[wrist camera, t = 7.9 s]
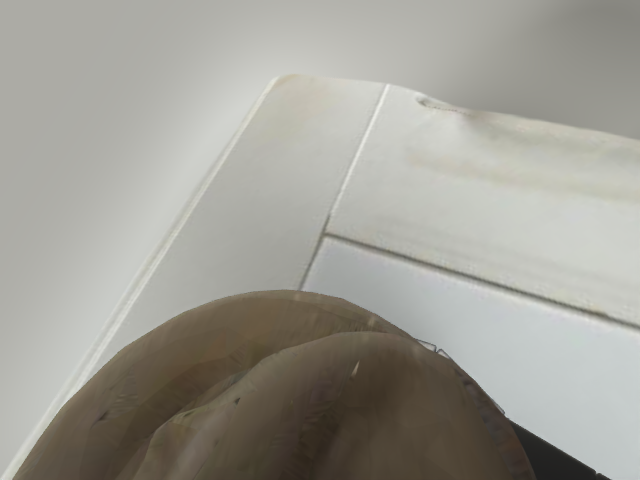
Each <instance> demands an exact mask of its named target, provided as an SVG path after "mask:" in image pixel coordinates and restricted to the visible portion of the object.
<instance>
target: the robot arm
mask: <svg viewBox="0 0 640 480" xmlns="http://www.w3.org/2000/svg"><path fill="white" fill-rule="evenodd" d="M508 421H509V422H510V424H511V426H512V428H513V430H514V432H515V434H516V435H517V437H518V439H519V441H520V443H521V445H522V447H523V449H524V451H525V453H526V455H527V457H528V459H529V462H530V464H531V466H532V469H533V471H534V474H535V476H536V479H537V480H611V479H609V478H607V477H606V476H604V475H602V474H601V473H597V474H596V471H595V470H594V469H592V468H590V467H588V466H587V465H585V464H583V463H582V462H580V461H578V460H577V459H575V458H573V457H572V456H570V455H568V454H567V453H565V452H563V451H561V450H560V449H558V448H556V447H555V446H553V445H551V444H550V443H548V442H546V441H545V440H543V439H541V438H539V437H538V436H536V435H534V434H533V433H531V432H529V431H528V430H526V429H524V428H523V427H521V426H519V425H518V424H516V423H514V422H512V421H511V420H509V419H508Z"/></svg>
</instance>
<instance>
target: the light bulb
mask: <svg viewBox="0 0 640 480" xmlns="http://www.w3.org/2000/svg"><path fill="white" fill-rule="evenodd" d="M13 480H537V479H536V476H535V474H534V471H533V469H532V466H531V464H530V462H529V459H528V457H527V455H526V453H525V451H524V449H523V447H522V445H521V443H520V441H519V439H518V437H517V435H516V434H515V432H514V430H513V428H512V426H511V424H510V422H509V421H508V419H507V418H506V417H505V416H504V415H503V413H502V412H501V411H500V410H499V409H498V407H497V406H496V405H495V404H494V403H493V401H492V400H491V399H490V398H489V397H488V396H487V394H486V393H485V392H484V391H483V390H482V388H481V387H480V386H479V385H478V384H477V382H476V381H475V380H474V379H472V378H471V377H470V376H469V375H468V374H467V373H466V372H465V371H464V370H463V369H461V368H460V367H459V366H458V365H457V364H456V363H455V362H454V361H453V360H451V359H449V358H447V357H445V356H442V355H440V354H438V353H436V352H434V351H432V350H430V349H428V348H426V347H425V346H423V345H422V344H421V343H419V342H418V341H417V340H416V339H414V338H413V337H412V336H410V335H409V334H408V333H406V332H404V331H403V330H401V329H399V328H398V327H396V326H394V325H393V324H391V323H390V322H388V321H386V320H385V319H383V318H381V317H380V316H378V315H376V314H374V313H372V312H370V311H368V310H366V309H363V308H361V307H359V306H357V305H355V304H353V303H351V302H348V301H346V300H344V299H342V298H337V297H332V296H327V295H323V294H318V293H313V292H304V291H294V290H273V291H258V292H250V293H245V294H239V295H234V296H229V297H225V298H222V299H218V300H215V301H212V302H209V303H207V304H204V305H202V306H199V307H196V308H194V309H191V310H188V311H186V312H183V313H182V314H180V315H178V316H176V317H174V318H172V319H170V320H169V321H167V322H165V323H163V324H162V325H160V326H158V327H157V328H155V329H154V330H152V331H150V332H149V333H147V334H145V335H144V336H142V337H140V338H139V339H137V340H136V341H134V342H132V343H131V344H129V345H128V346H126V347H125V348H123V349H121V350H120V351H119V352H118V353H117V354H116V355H115V356H114V357H113V358H112V359H111V360H110V361H109V362H108V363H107V364H105V365H104V366H103V367H102V368H101V369H100V370H99V371H98V372H97V373H96V374H95V375H94V376H93V377H92V378H91V379H90V380H89V381H88V382H87V383H86V384H85V385H84V386H83V387H82V388H81V389H80V390H79V391H78V392H77V393H76V394H75V395H74V396H73V397H72V398H71V399H70V400H69V401H68V402H67V403H66V404H65V405H64V406H63V407H62V408H61V409H60V411H59V412H58V413H57V415H56V416H55V418H54V419H53V420H52V422H51V423H50V424H49V426H48V427H47V429H46V430H45V431H44V433H43V434H42V435H41V437H40V438H39V440H38V441H37V443H36V444H35V446H34V447H33V449H32V450H31V452H30V453H29V455H28V456H27V458H26V459H25V461H24V462H23V464H22V465H21V467H20V468H19V470H18V471H17V473H16V474H15V476H14V478H13Z"/></svg>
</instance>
